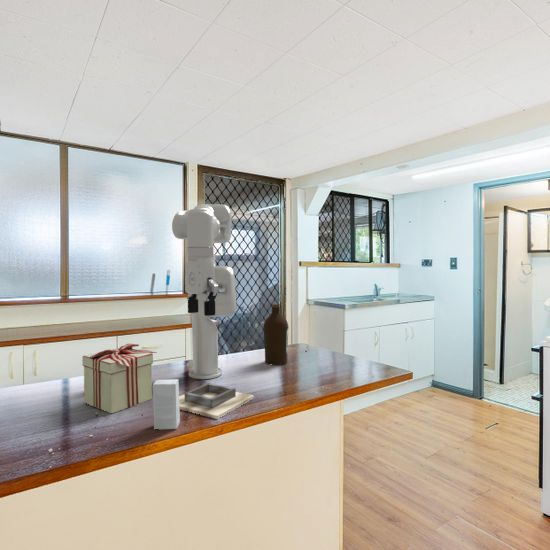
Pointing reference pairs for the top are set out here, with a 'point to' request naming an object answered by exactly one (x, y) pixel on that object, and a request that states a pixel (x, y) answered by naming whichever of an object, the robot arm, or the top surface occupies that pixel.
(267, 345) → the olive oil
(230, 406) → the holder board
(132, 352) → the gift box
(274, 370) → the top surface
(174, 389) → the skincare box
